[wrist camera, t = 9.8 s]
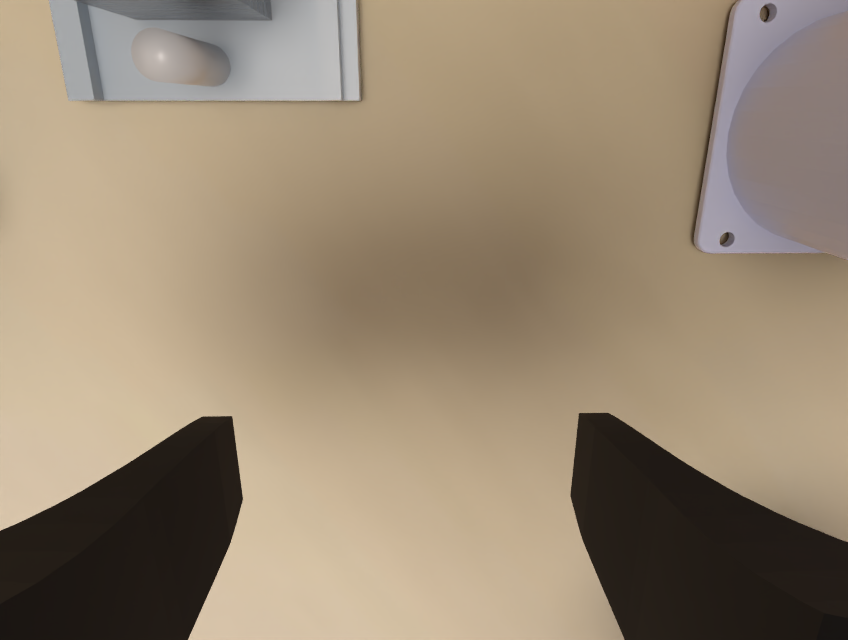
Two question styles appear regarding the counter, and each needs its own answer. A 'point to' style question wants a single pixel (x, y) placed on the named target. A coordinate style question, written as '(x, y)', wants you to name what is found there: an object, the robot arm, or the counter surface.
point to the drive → (187, 9)
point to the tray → (211, 55)
